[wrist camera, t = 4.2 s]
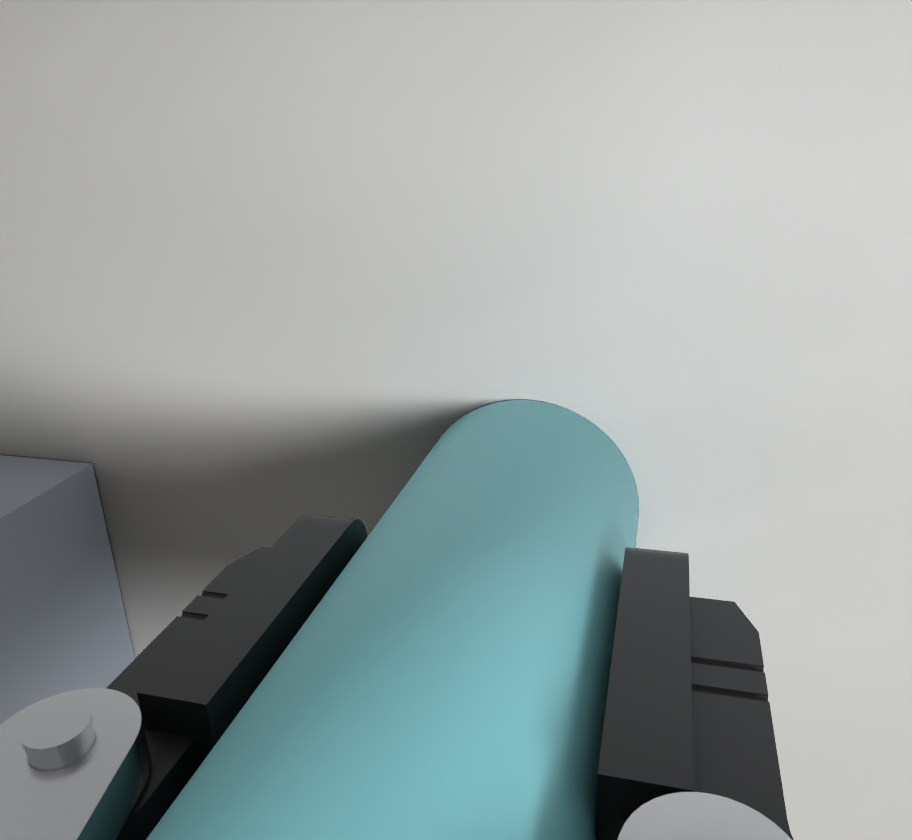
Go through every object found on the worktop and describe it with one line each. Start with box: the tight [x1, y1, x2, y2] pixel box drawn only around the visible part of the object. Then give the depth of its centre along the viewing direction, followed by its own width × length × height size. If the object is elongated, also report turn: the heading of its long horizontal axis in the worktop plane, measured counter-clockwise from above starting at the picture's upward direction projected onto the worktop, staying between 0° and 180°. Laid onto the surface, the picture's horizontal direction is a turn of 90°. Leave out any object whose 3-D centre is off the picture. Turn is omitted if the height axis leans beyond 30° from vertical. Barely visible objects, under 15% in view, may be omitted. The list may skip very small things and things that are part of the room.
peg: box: [146, 400, 639, 840], centre depth 7 cm, size 3×3×11 cm
